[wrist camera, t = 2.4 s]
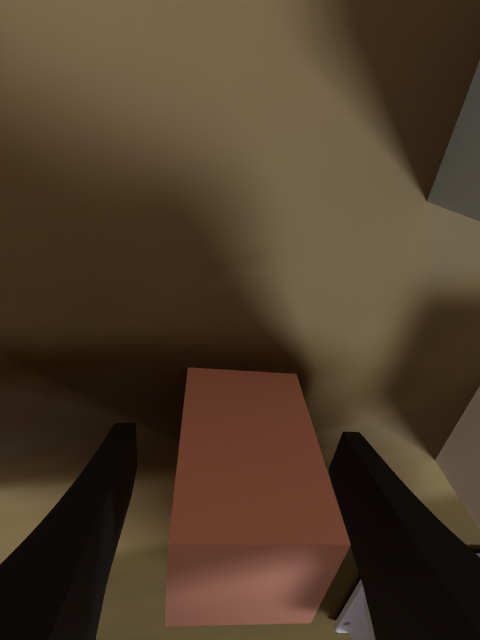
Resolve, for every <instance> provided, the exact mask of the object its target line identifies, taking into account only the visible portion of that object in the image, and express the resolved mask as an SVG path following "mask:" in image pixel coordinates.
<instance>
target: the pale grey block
mask: <svg viewBox="0 0 480 640" xmlns="http://www.w3.org/2000/svg"><path fill="white" fill-rule="evenodd" d="M435 461H436V463H437V464H438V466H439V467H440V469H441V470H442V472H443V473H444V475H445V476H446V478H447V480H448V481H449V483H450V484H451V486H452V487H453V489H454V490H455V492H456V494H457V495H458V497H459V498H460V500H461V501H462V503H463V504H464V506H465V507H466V509H467V511H468V512H469V514H470V515H471V517H472V518H473V520H474V521H475V523H476V524H477V526H478V528H479V529H480V386H479V388H478V389H477V391H476V393H475V394H474V396H473V398H472V399H471V401H470V403H469V404H468V406H467V408H466V409H465V411H464V413H463V414H462V416H461V418H460V419H459V421H458V423H457V424H456V426H455V428H454V429H453V431H452V433H451V434H450V436H449V438H448V439H447V441H446V443H445V444H444V446H443V448H442V449H441V451H440V453H439V454H438V456H437V458H436V459H435Z"/></svg>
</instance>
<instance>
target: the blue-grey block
mask: <svg viewBox="0 0 480 640" xmlns="http://www.w3.org/2000/svg"><path fill="white" fill-rule="evenodd" d="M427 202H430V203H433V204H435V205H438V206H441V207H443V208H446V209H449V210H451V211H454V212H456V213H459V214H462V215H464V216H467V217H470V218H472V219H475V220H478V221H480V61H479V64H478V66H477V69H476V72H475V74H474V77H473V80H472V82H471V85H470V88H469V90H468V93H467V96H466V98H465V101H464V104H463V106H462V109H461V112H460V114H459V117H458V120H457V122H456V125H455V128H454V130H453V133H452V136H451V138H450V141H449V144H448V146H447V149H446V152H445V154H444V157H443V160H442V162H441V165H440V168H439V170H438V173H437V176H436V178H435V181H434V184H433V186H432V189H431V192H430V194H429V197H428V200H427Z"/></svg>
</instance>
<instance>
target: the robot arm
mask: <svg viewBox="0 0 480 640" xmlns="http://www.w3.org/2000/svg"><path fill="white" fill-rule="evenodd" d="M136 468H137V445H136V423H116V424H114V425H113V427H112V429H111V430H110V432H109V434H108V435H107V437H106V438H105V440H104V442H103V443H102V445H101V446H100V448H99V449H98V450H97V452H96V453H95V455H94V456H93V458H92V459H91V461H90V462H89V463H88V465H87V466H86V467H85V469H84V470H83V471H82V473H81V474H80V475H79V477H78V478H77V479H76V481H75V482H74V483H73V485H72V486H71V487H70V488H69V489H68V491H67V492H66V493H65V494H64V496H63V497H62V498H61V499H60V500H59V502H58V503H57V504H56V505H55V507H54V508H53V509H52V510H51V511H50V512H49V514H48V515H47V516H46V517H45V518H44V519H43V520H42V522H41V523H40V524H39V525H38V526H37V527H36V528H35V529H34V530H33V531H32V532H31V534H30V535H29V536H28V537H27V538H26V539H25V540H24V541H23V542H22V543H21V544H20V545H19V546H18V547H17V548H16V549H15V550H14V551H13V552H12V553H11V554H10V555H9V556H8V557H7V558H6V559H5V560H4V561H3V562H2V563H1V564H0V640H95V639H96V634H97V629H98V624H99V619H100V614H101V609H102V604H103V599H104V594H105V589H106V585H107V581H108V577H109V573H110V569H111V565H112V562H113V559H114V555H115V552H116V548H117V545H118V541H119V538H120V534H121V531H122V527H123V524H124V520H125V517H126V513H127V510H128V506H129V503H130V499H131V495H132V490H133V485H134V479H135V474H136ZM329 473H330V478H331V484H332V487H333V490H334V493H335V496H336V500H337V503H338V506H339V509H340V512H341V515H342V518H343V522H344V525H345V528H346V531H347V534H348V537H349V540H350V544H351V546H350V547H351V549H352V552H353V555H354V558H355V561H356V564H357V567H358V571H359V574H360V577H361V580H360V581H359V583H358V585H357V586H356V588H355V590H354V591H353V593H352V595H351V596H350V598H349V600H348V602H347V603H346V605H345V607H344V608H343V610H342V612H341V613H340V615H339V617H338V618H337V620H336V622H335V623H334V626H335V631H336V632H338V633H350V637H351V640H480V553H475V552H473V551H472V550H471V549H470V548H469V547H468V546H467V545H465V544H464V543H463V542H462V541H461V540H460V539H459V538H458V537H457V536H456V535H455V534H453V533H452V532H451V531H450V530H449V529H448V528H447V527H446V526H445V525H444V524H443V523H442V522H441V521H440V520H439V519H438V518H437V517H435V515H434V514H433V513H432V512H431V511H430V510H429V509H428V508H427V507H426V506H425V505H424V504H423V503H422V502H421V501H420V500H419V499H418V498H417V497H416V496H415V495H414V494H413V493H412V492H411V491H410V490H409V489H408V487H407V486H406V485H405V484H404V483H403V482H402V481H401V480H400V479H399V477H398V476H397V475H396V474H395V473H394V472H393V471H392V470H391V468H390V467H389V466H388V465H387V464H386V463H385V461H384V460H383V459H382V458H381V457H380V456H379V455H378V453H377V452H376V451H375V450H374V449H373V447H372V446H371V445H370V444H369V443H368V442H367V440H366V439H365V438H364V437H363V436H362V435H361V434H360V432H343V433H342V436H341V439H340V441H339V444H338V446H337V449H336V452H335V454H334V457H333V460H332V462H331V465H330V467H329Z"/></svg>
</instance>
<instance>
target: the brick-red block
mask: <svg viewBox="0 0 480 640" xmlns="http://www.w3.org/2000/svg"><path fill="white" fill-rule="evenodd" d="M350 546H351V544H350V540H349V537H348V534H347V531H346V528H345V525H344V522H343V518H342V515H341V512H340V509H339V506H338V503H337V500H336V496H335V493H334V490H333V487H332V484H331V481H330V478H329V474H328V471H327V468H326V465H325V462H324V459H323V456H322V453H321V449H320V446H319V443H318V440H317V437H316V434H315V431H314V427H313V424H312V421H311V418H310V415H309V412H308V409H307V405H306V402H305V399H304V396H303V393H302V390H301V387H300V384H299V380H298V377H297V374H290V373H273V372H256V371H239V370H223V369H206V368H189V367H188V371H187V380H186V389H185V398H184V407H183V415H182V424H181V433H180V442H179V451H178V460H177V469H176V478H175V487H174V496H173V505H172V514H171V523H170V532H169V541H168V559H167V584H166V610H165V627H171V626H212V625H253V624H295V623H311V621H312V620H313V618H314V616H315V614H316V612H317V610H318V608H319V606H320V604H321V602H322V600H323V598H324V596H325V594H326V592H327V590H328V588H329V587H330V585H331V583H332V581H333V579H334V577H335V575H336V573H337V571H338V569H339V567H340V565H341V563H342V561H343V559H344V557H345V555H346V553H347V552H348V550H349V548H350Z"/></svg>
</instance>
